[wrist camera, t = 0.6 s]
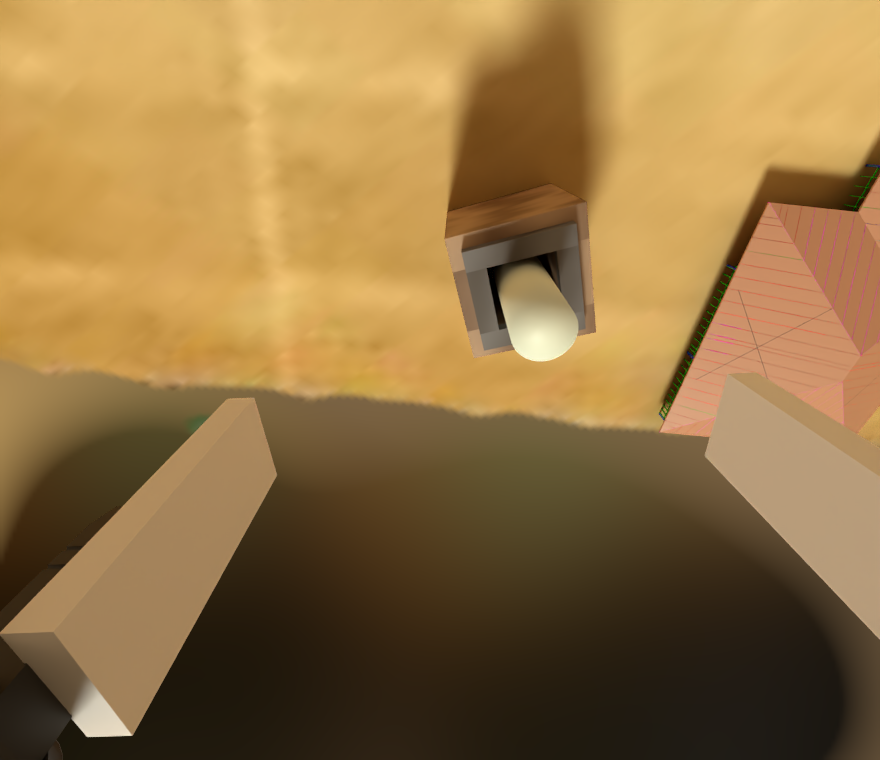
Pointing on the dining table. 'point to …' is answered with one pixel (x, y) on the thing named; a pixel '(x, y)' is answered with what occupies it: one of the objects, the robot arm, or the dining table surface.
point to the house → (795, 317)
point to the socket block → (519, 257)
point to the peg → (535, 310)
